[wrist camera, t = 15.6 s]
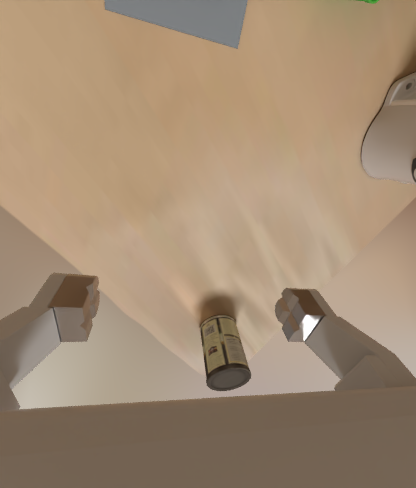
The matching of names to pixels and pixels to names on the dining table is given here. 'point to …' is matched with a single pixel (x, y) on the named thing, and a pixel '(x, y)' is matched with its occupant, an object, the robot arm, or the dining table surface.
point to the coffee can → (223, 354)
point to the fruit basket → (370, 1)
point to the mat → (189, 16)
